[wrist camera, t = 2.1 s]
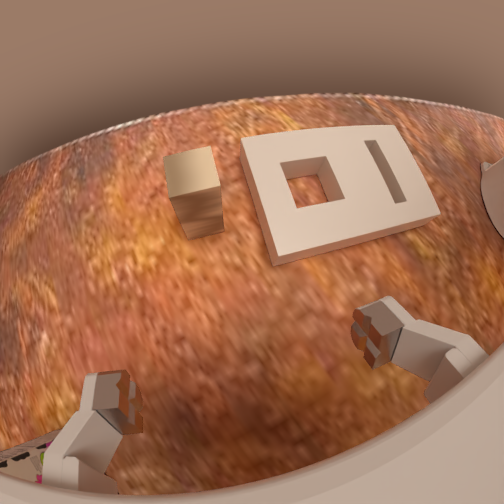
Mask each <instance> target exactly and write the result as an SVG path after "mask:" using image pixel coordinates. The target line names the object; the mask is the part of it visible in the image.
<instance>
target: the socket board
mask: <svg viewBox="0 0 504 504" xmlns="http://www.w3.org/2000/svg"><path fill="white" fill-rule="evenodd" d="M240 161H241V164H242V167H243V171H244V174H245V177H246V180H247V184H248V187H249V190H250V193H251V197H252V200H253V203H254V206H255V210H256V213H257V216H258V219H259V223H260V226H261V229H262V233H263V236H264V239H265V243H266V246H267V249H268V253H269V256H270V259H271V263H272V266H277V265H281V264H284V263H288V262H292V261H296V260H300V259H304V258H307V257H311V256H315V255H319V254H322V253H326V252H330V251H334V250H337V249H341V248H345V247H348V246H352V245H356V244H359V243H363V242H367V241H370V240H374V239H377V238H381V237H385V236H388V235H392V234H395V233H399V232H402V231H406V230H409V229H413V228H416V227H420V226H423V225H425V224H427V223H428V222H430V221H431V220H433V219H434V218H435V217H437V216H438V215H440V214H441V213H440V211H439V208H438V206H437V204H436V202H435V199H434V197H433V195H432V193H431V191H430V189H429V187H428V184H427V182H426V180H425V178H424V176H423V174H422V173H421V171H420V169H419V167H418V165H417V163H416V161H415V159H414V158H413V156H412V154H411V152H410V150H409V149H408V147H407V145H406V143H405V142H404V140H403V138H402V137H401V135H400V134H399V132H398V130H397V129H396V127H395V126H394V125H364V126H342V127H327V128H315V129H305V130H295V131H287V132H279V133H271V134H264V135H258V136H251V137H245V138H241V142H240ZM315 174H317V176H318V178H319V180H320V183H321V185H322V187H323V190H324V192H325V195H326V197H327V200H328V202H327V203H322V204H317V205H312V206H307V207H302V208H296V205H295V202H294V200H293V197H292V194H291V191H290V189H289V186H288V183H287V181H286V179H292V178H297V177H303V176H309V175H315Z"/></svg>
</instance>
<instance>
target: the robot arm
mask: <svg viewBox="0 0 504 504" xmlns="http://www.w3.org/2000/svg"><path fill="white" fill-rule="evenodd" d="M481 171H482V179H481V191H482V196H483V200H484V203H485V206H486V209H487V212H488V214H489V216H490V218H491V220H492V222H493V224H494V226H495V227H496V229H497V230H498V232H499V233H500V234H501V236H502V237H503V238H504V157H502V158H501V159H500V160H498V161H497V162H496V163H494V164H490V163H487V162H483V163H481ZM353 318H354V320H355V322H354V323H353V324H352V326H351V337H352V340H353V343H354V345H355V346H356V347H357V349H359V350H361V351H364V359H365V360H366V361H367V363H368V364H369V366H370V367H371V368H372V370H373V369H375V368H377V367H379V366H381V365H384V364H386V363H388V362H390V361H391V362H392V363H394V364H396V365H398V366H399V367H401V368H403V369H405V370H407V371H409V372H411V373H413V374H415V375H417V376H419V377H421V378H423V379H425V380H427V381H429V382H430V383H429V384H428V386H427V388H426V389H425V391H424V395H425V397H426V398H427V399H428V401H429V402H430V404H429V405H427V406H426V407H425V408H423V409H421V410H420V411H418V412H417V413H415V414H414V415H412V416H411V417H409V418H407V419H406V420H404V421H402V422H401V423H399V424H397V425H396V426H394V427H392V428H390V429H388V430H387V431H385V432H383V433H381V434H379V435H377V436H375V437H373V438H372V439H370V440H368V441H366V442H364V443H361V444H359V445H357V446H355V447H353V448H351V449H349V450H346V451H344V452H342V453H339V454H337V455H335V456H332V457H330V458H327V459H325V460H322V461H320V462H317V463H314V464H312V465H309V466H306V467H303V468H300V469H297V470H294V471H291V472H288V473H284V474H281V475H278V476H274V477H270V478H267V479H263V480H259V481H255V482H250V483H246V484H241V485H236V486H231V487H226V488H220V489H214V490H207V491H199V492H191V493H180V494H165V495H118V489H117V482H116V481H115V480H113V479H112V478H110V477H108V476H106V475H104V473H105V471H106V469H107V467H108V465H109V463H110V461H111V459H112V457H113V455H114V453H115V451H116V449H117V447H118V445H119V443H120V441H121V439H122V437H123V436H122V435H129V434H139V433H143V417H142V416H141V414H140V413H139V412H140V410H141V409H142V407H143V399H142V395H141V391H140V389H139V387H138V386H137V384H136V383H135V382H132V381H130V375H129V373H128V372H127V371H126V370H116V371H107V372H98V373H88V374H87V375H86V376H85V380H84V385H83V391H82V397H81V403H80V409H79V411H76V412H75V413H74V414H73V416H72V417H71V418H70V420H69V421H68V422H67V424H66V425H65V426H64V427H63V429H62V430H61V431H60V433H59V434H58V435H57V437H56V438H55V439H54V441H53V442H52V443H51V445H50V446H49V447H48V449H47V450H46V451H45V453H44V460H43V471H42V484H40V483H36V482H32V481H28V480H25V479H21V478H18V477H14V476H11V475H8V474H5V473H2V472H0V504H504V342H503V343H502V344H501V345H500V346H499V347H498V348H497V349H496V350H495V351H494V352H493V353H492V354H491V355H490V356H489V355H488V354H487V353H486V352H485V351H484V350H483V349H482V348H481V347H480V346H479V345H478V344H477V343H476V342H475V341H474V340H473V339H472V338H471V337H470V336H469V335H467V334H464V333H460V332H457V331H454V330H451V329H448V328H445V327H442V326H438V325H435V324H432V323H429V322H426V321H423V320H420V319H418V320H415V319H414V318H413V317H412V316H411V315H410V314H409V313H408V312H407V311H406V310H405V309H404V308H403V307H402V306H401V305H400V304H399V303H398V302H397V301H396V300H395V299H394V298H393V297H391V296H386V297H384V298H382V299H379V300H377V301H374V302H371V303H369V304H366V305H364V306H361V307H359V308H356V309H355V310H354V312H353Z"/></svg>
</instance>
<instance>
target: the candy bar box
mask: <svg viewBox="0 0 504 504" xmlns="http://www.w3.org/2000/svg"><path fill="white" fill-rule="evenodd" d="M60 431H61V430H54V431H52V432H49V433H47V434H45V435H43V436H40V437H38V438H35V439H33V440H31V441H28V442H26V443H23V444H20V445H17V446H15V447H12V448H10V449H7V450H4V451H1V452H0V472H2V473H5V474H8V475H11V476H14V477H18V478H21V479H25V480H28V481H32V482H36V483H40V484H42V471H43V460H44V453H45V451H46V450H47V449H48V447H49V446H50V445H51V443H52V442H53V441H54V439H55V438H56V437H57V435H58V434H59V433H60ZM104 475H105V473H104ZM118 495H119V494H118Z"/></svg>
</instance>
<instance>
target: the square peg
mask: <svg viewBox="0 0 504 504" xmlns="http://www.w3.org/2000/svg"><path fill="white" fill-rule="evenodd" d="M163 160H164V167H165V174H166V181H167V188H168V195H169V199H170V201H171V204H172V206H173V208H174V210H175V212H176V215H177V217H178V219H179V221H180V224H181V226H182V228H183V230H184V232H185V234H186V237H187V239H188V241H189V240H193V239H197V238H201V237H205V236H209V235H213V234H217V233H222V232H224V223H223V211H222V198H221V185H220V182H219V178H218V174H217V170H216V166H215V162H214V158H213V154H212V150H211V146H207V147H203V148H198V149H194V150H189V151H185V152H181V153H177V154H173V155H169V156H165V157H163Z"/></svg>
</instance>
